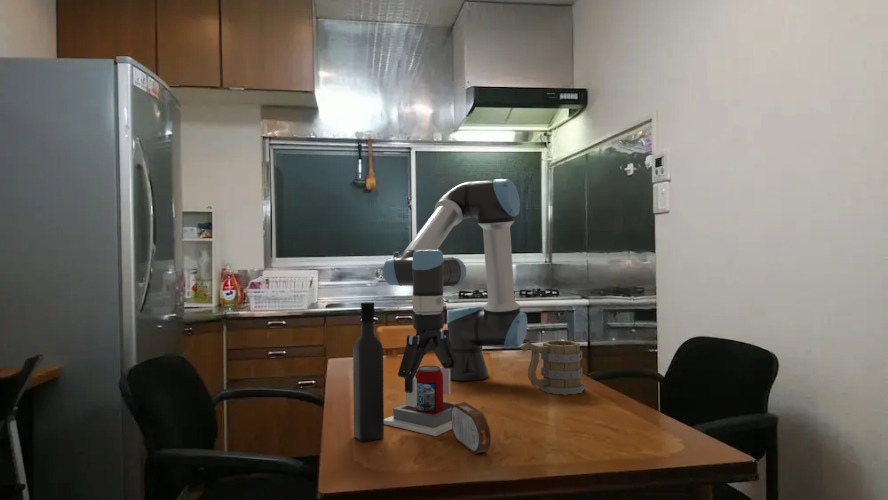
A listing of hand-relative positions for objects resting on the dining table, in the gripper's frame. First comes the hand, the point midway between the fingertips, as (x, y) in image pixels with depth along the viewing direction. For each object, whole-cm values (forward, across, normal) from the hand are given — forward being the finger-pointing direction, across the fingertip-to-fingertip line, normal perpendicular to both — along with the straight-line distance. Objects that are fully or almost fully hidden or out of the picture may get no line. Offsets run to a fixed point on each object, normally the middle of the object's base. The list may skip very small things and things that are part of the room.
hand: (429, 399), depth 131 cm
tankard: (+6, +44, -12) cm, 46 cm away
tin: (+6, -9, -18) cm, 21 cm away
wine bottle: (+5, -17, +4) cm, 18 cm away
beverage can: (+4, 0, 0) cm, 4 cm away
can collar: (+5, 0, 0) cm, 5 cm away
